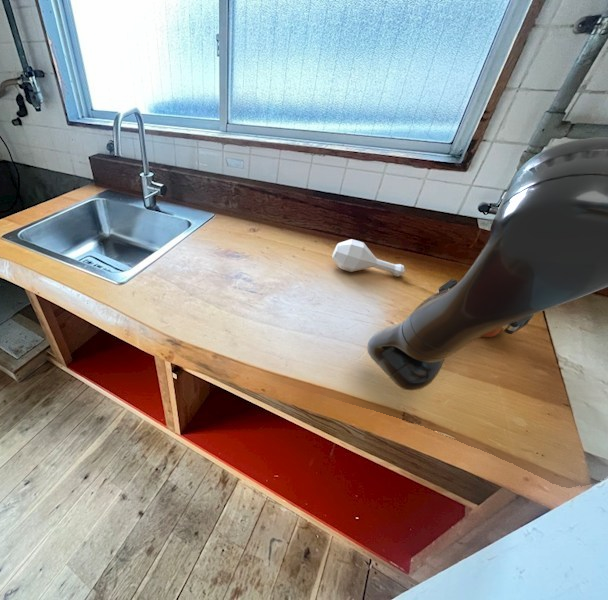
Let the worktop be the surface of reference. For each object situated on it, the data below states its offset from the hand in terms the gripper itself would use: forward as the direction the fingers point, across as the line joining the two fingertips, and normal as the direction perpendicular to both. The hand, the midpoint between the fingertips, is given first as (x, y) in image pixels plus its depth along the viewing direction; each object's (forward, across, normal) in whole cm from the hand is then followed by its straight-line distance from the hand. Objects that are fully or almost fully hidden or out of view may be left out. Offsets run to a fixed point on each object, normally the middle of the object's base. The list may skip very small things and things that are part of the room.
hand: (498, 292), depth 65 cm
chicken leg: (-3, +27, +8) cm, 29 cm away
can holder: (-2, 0, +8) cm, 8 cm away
